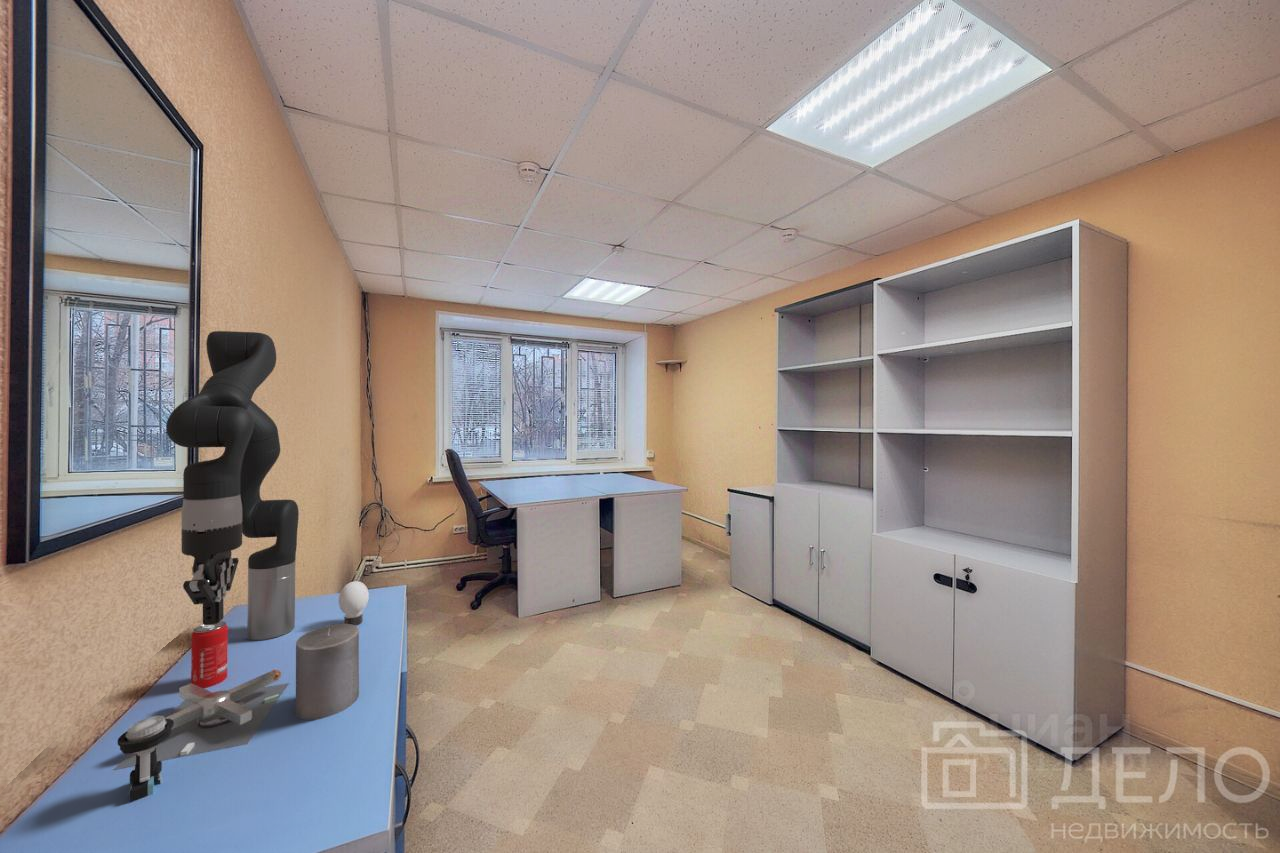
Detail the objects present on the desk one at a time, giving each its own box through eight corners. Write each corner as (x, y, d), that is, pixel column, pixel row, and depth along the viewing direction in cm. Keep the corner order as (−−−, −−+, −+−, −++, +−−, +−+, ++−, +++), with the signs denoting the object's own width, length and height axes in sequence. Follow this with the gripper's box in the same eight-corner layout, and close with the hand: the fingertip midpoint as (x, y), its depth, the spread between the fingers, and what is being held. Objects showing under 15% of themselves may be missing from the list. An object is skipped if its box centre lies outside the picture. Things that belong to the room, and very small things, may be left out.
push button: (121, 787, 64) (121, 718, 64) (174, 768, 68) (175, 703, 68) (113, 817, 59) (114, 742, 59) (171, 794, 63) (172, 724, 63)
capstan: (167, 776, 65) (168, 749, 65) (107, 739, 72) (107, 715, 72) (311, 700, 83) (311, 679, 83) (251, 677, 91) (251, 657, 91)
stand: (185, 705, 83) (185, 696, 83) (289, 687, 89) (289, 679, 89) (112, 776, 66) (113, 765, 66) (247, 749, 72) (247, 739, 72)
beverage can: (204, 695, 86) (205, 633, 86) (183, 692, 87) (184, 630, 87) (233, 680, 91) (234, 622, 91) (214, 677, 92) (214, 619, 92)
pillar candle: (317, 693, 87) (317, 617, 87) (369, 691, 88) (369, 616, 88) (281, 727, 77) (281, 642, 77) (340, 724, 78) (340, 640, 78)
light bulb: (340, 631, 113) (341, 588, 113) (336, 622, 118) (336, 581, 118) (371, 624, 117) (371, 582, 117) (365, 615, 122) (366, 575, 122)
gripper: (205, 515, 81) (205, 609, 81) (159, 534, 69) (160, 645, 69) (256, 513, 84) (256, 604, 84) (221, 530, 71) (222, 637, 72)
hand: (213, 622), depth 77 cm, fingers closed
